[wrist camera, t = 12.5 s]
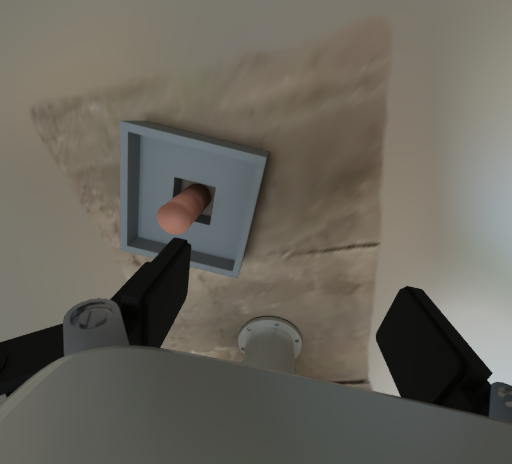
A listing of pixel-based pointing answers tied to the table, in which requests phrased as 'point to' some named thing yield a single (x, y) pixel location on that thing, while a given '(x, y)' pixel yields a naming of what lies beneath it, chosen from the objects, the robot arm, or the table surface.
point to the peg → (183, 209)
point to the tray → (168, 186)
